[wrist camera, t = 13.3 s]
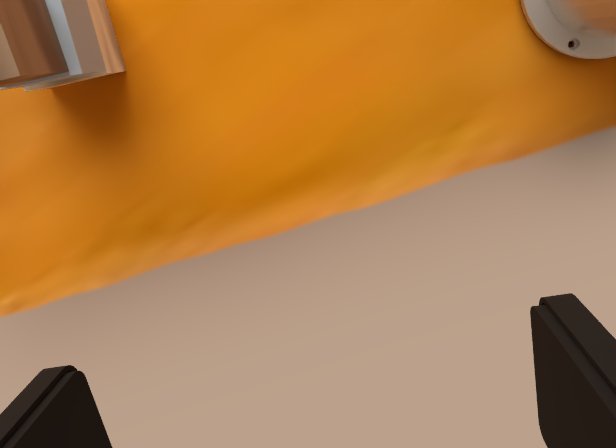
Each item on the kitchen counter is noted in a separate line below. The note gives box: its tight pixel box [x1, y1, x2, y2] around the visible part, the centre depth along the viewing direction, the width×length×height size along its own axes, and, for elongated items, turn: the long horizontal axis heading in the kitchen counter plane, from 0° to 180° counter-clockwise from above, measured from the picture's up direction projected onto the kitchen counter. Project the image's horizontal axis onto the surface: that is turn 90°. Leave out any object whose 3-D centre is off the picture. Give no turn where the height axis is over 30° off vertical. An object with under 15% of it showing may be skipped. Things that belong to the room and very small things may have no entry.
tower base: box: [23, 0, 126, 92], centre depth 42 cm, size 7×7×4 cm
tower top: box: [0, 0, 106, 90], centre depth 39 cm, size 7×7×4 cm
